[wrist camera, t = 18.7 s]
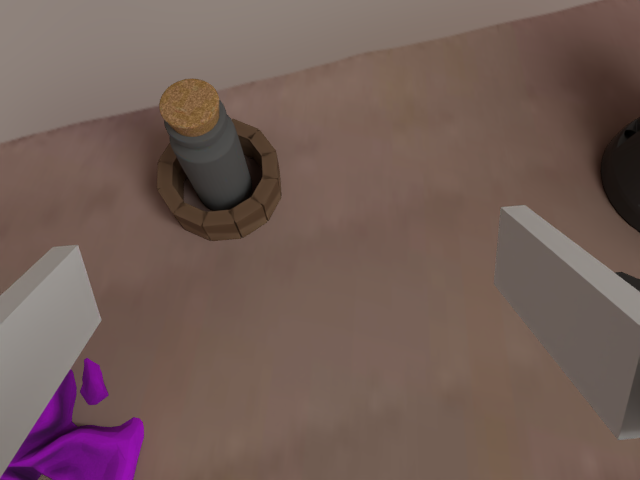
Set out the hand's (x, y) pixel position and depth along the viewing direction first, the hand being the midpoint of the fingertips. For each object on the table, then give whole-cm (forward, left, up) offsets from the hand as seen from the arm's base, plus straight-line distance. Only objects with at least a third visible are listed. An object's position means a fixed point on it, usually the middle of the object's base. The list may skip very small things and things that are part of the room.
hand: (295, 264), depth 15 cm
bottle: (+8, -20, -32) cm, 38 cm away
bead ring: (+8, -20, -32) cm, 38 cm away
